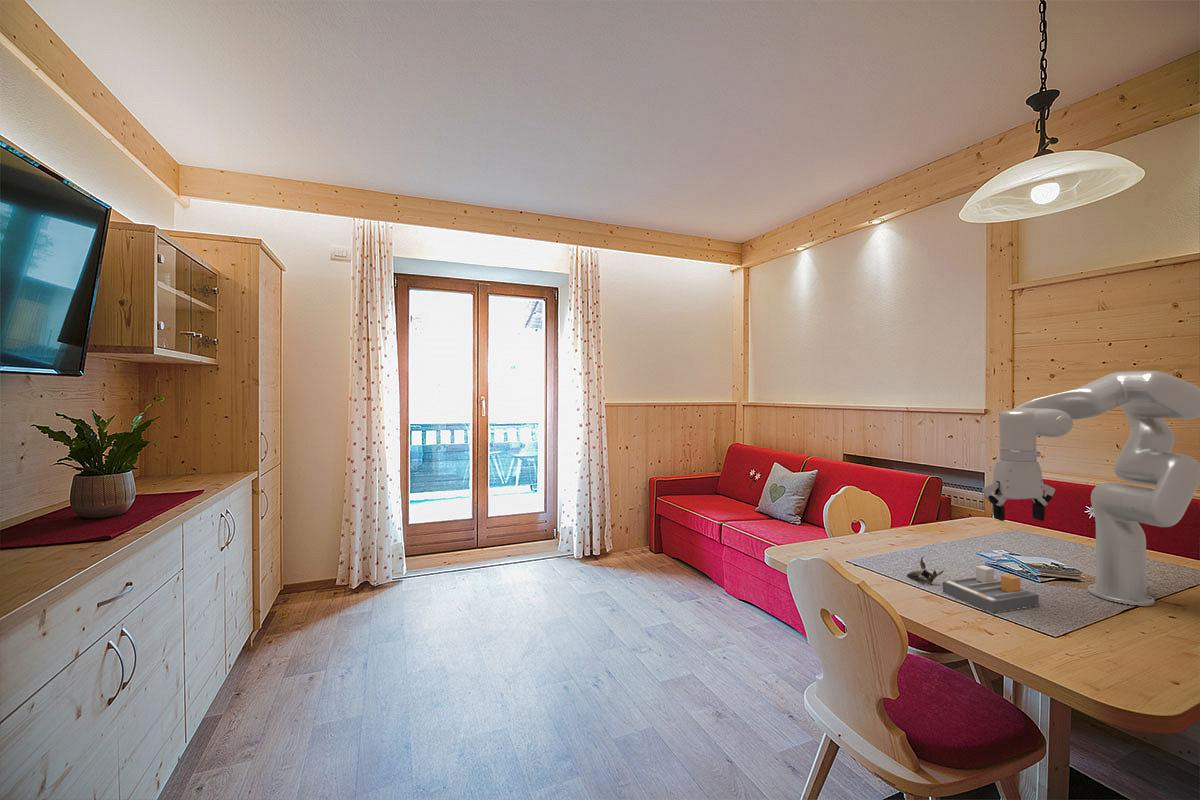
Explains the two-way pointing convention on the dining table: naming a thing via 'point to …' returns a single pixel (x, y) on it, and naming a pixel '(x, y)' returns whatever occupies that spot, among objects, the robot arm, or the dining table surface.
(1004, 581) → the orange tab
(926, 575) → the eagle figurine
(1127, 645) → the dining table surface
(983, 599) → the grey slotted tray
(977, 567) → the white block
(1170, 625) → the dining table surface
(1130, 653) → the dining table surface
